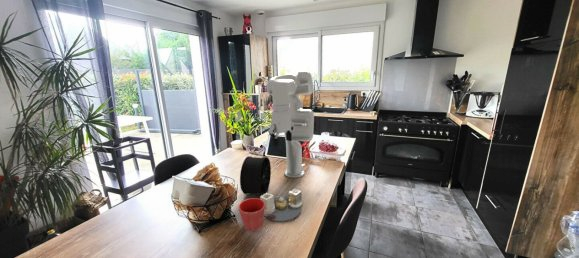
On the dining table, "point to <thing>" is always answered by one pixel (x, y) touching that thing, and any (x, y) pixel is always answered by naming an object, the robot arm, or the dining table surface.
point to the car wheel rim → (255, 175)
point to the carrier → (286, 207)
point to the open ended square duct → (268, 203)
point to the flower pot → (252, 213)
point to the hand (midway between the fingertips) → (282, 143)
